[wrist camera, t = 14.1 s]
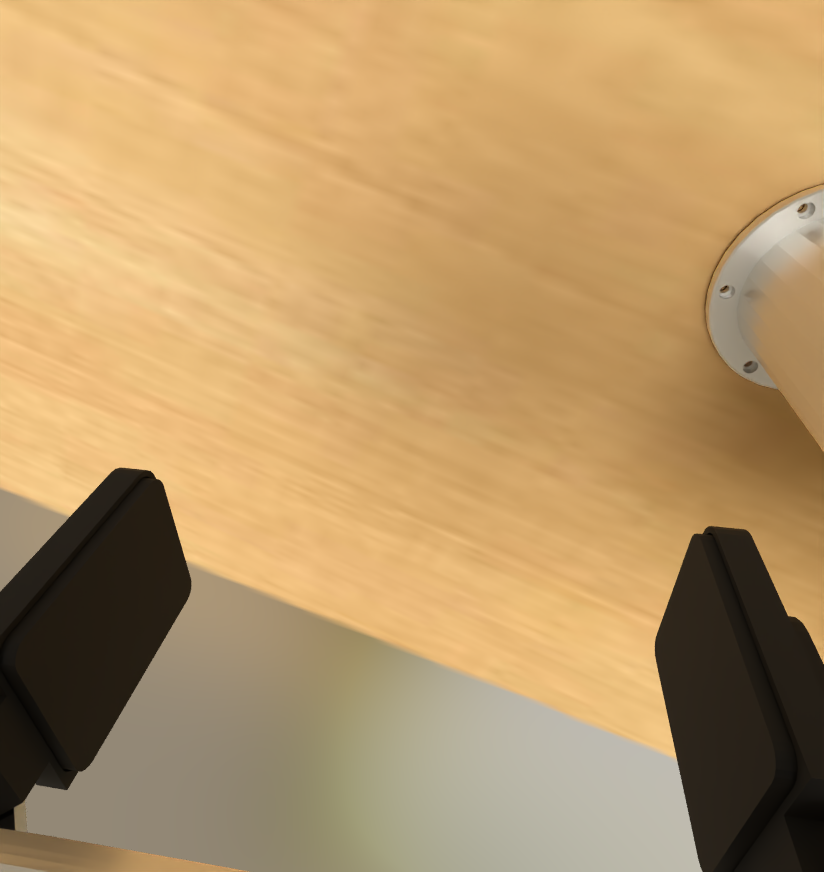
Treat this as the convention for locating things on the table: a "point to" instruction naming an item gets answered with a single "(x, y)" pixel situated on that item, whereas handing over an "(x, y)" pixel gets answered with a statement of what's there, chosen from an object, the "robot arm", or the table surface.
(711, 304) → the robot arm
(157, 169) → the table surface
